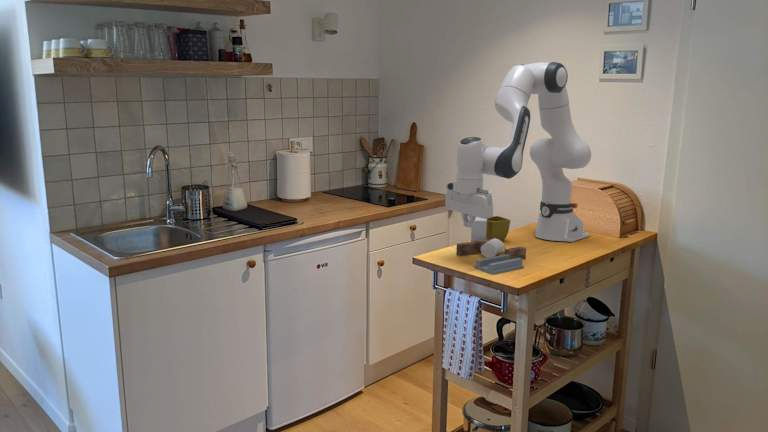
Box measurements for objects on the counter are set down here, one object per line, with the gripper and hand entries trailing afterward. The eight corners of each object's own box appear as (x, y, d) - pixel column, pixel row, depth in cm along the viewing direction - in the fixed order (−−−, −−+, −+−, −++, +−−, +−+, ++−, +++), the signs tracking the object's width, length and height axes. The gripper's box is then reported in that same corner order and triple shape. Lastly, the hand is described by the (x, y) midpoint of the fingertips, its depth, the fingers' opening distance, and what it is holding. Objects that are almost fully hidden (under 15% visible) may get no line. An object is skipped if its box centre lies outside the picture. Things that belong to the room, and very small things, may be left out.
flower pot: (490, 244, 233) (491, 221, 231) (478, 239, 241) (479, 217, 239) (509, 242, 237) (511, 220, 235) (497, 237, 244) (498, 215, 243)
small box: (485, 248, 227) (486, 221, 225) (470, 247, 228) (471, 220, 226) (486, 243, 235) (487, 216, 233) (471, 242, 236) (472, 215, 234)
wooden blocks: (491, 248, 228) (491, 238, 227) (525, 259, 214) (526, 247, 213) (456, 254, 218) (456, 243, 217) (490, 266, 204) (490, 254, 204)
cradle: (505, 262, 210) (505, 253, 209) (523, 268, 203) (524, 259, 202) (474, 268, 202) (475, 259, 201) (492, 274, 195) (493, 265, 194)
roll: (508, 251, 224) (508, 236, 222) (495, 259, 214) (496, 243, 212) (492, 249, 227) (493, 234, 226) (479, 256, 217) (480, 241, 216)
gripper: (498, 189, 198) (496, 231, 201) (456, 181, 214) (455, 220, 217) (484, 192, 195) (482, 234, 198) (442, 183, 211) (441, 222, 214)
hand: (468, 226), depth 208 cm, fingers closed
